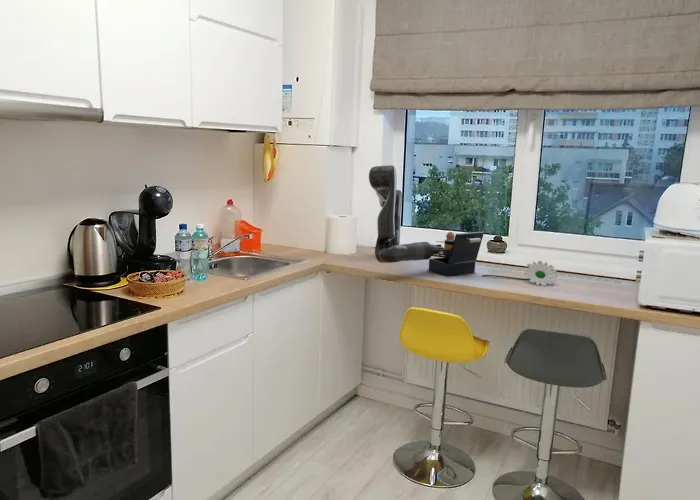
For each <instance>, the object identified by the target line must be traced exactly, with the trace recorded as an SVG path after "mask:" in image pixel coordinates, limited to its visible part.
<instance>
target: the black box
mask: <svg viewBox="0 0 700 500" xmlns="http://www.w3.org/2000/svg"><path fill="white" fill-rule="evenodd" d="M443 261H444V256H443V257H434V258H429V259H428V271H429V272H432V273H436V274H438V275H441V276H445V277H455V276H462V275H470V274H475V273H476V272H475V271H476V261H468V262H459V263H452V264H448V263H444V262H443Z"/></svg>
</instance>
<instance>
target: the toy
mask: <svg viewBox="0 0 700 500" xmlns="http://www.w3.org/2000/svg"><path fill="white" fill-rule="evenodd" d="M445 238H446V239H445V240H448V239H451V240H454V239H455V233H454V232H452V231H448V232H447V233H446V235H445ZM445 240H444V241H442V240H435V243H444V244H445Z"/></svg>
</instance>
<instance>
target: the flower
mask: <svg viewBox="0 0 700 500" xmlns="http://www.w3.org/2000/svg"><path fill="white" fill-rule="evenodd" d="M526 266H527V267H524V270H526V271H523V274H524V275H525V276H526V277H524V278H523V277H516V276H515V277H514V276H508V275H507V276H506V275H496V274H482V277H493V278H503V279H504V278H505V279H513V280H522V281H529V283H532V284H533V283H535V284H536V286H539V285H541V286H542V287H544V286H547V284H548V285H552V284H553V283H555V282H556V281H557V279H556V278H558V277H559V273H557V269H554V265H552V264H550V265H548V262H547V261H546V262H544V263H543V261H542V260H538V261H537V262H535V261H532V263H528V264H526ZM552 282H553V283H552Z"/></svg>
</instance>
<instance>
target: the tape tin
mask: <svg viewBox="0 0 700 500" xmlns="http://www.w3.org/2000/svg"><path fill="white" fill-rule="evenodd" d="M444 241H445V243H444V245H443V248H452V247H453V243H454V240H451V239H448V240H446V239H444ZM450 254H451V253H450ZM443 257H444V261H443V262H444V263H448V262H449V258H450V255H444V256H443ZM448 264H449V263H448ZM450 264H452V263H450Z"/></svg>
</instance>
